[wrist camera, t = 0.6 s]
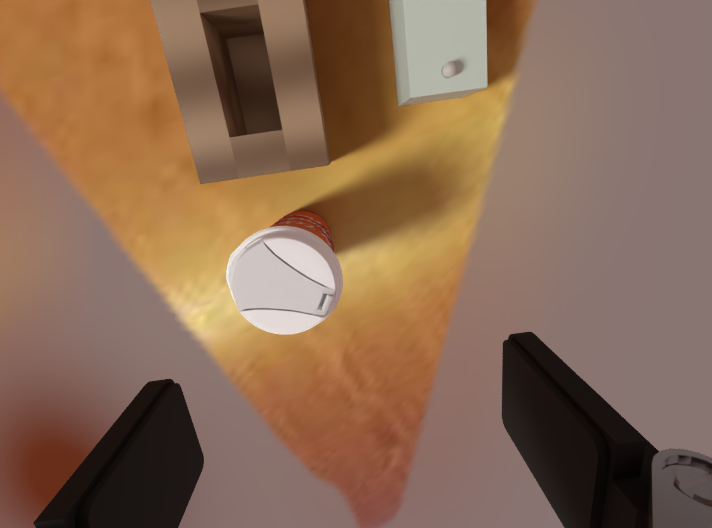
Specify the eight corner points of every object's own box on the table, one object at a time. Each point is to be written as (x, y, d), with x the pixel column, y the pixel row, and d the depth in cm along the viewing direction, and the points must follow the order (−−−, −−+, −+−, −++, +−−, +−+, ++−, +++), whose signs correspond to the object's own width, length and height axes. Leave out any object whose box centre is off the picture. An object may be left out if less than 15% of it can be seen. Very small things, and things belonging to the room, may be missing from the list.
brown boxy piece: (181, -10, 29) (99, -93, 19) (300, -28, 29) (281, -120, 19) (227, 177, 34) (181, 189, 24) (330, 162, 34) (327, 167, 24)
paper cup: (352, 216, 36) (360, 255, 22) (325, 282, 38) (318, 355, 24) (277, 187, 34) (239, 210, 21) (254, 257, 36) (206, 319, 23)
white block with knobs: (384, -51, 29) (397, -107, 23) (456, -61, 29) (489, -120, 23) (397, 106, 33) (412, 96, 26) (461, 97, 33) (491, 85, 27)
